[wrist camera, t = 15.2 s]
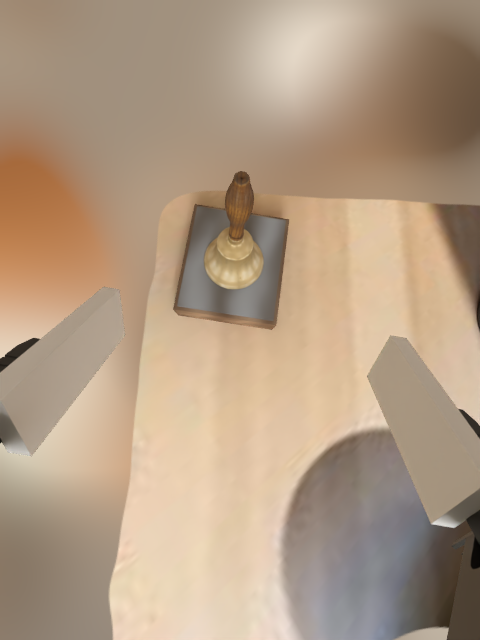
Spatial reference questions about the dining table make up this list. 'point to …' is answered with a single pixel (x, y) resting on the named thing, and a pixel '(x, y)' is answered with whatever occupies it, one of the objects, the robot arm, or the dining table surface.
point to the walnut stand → (221, 303)
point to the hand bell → (235, 241)
